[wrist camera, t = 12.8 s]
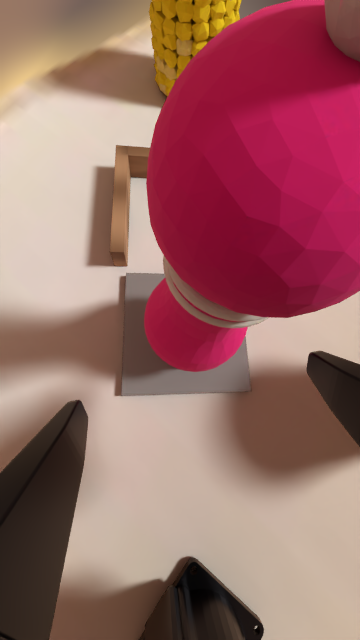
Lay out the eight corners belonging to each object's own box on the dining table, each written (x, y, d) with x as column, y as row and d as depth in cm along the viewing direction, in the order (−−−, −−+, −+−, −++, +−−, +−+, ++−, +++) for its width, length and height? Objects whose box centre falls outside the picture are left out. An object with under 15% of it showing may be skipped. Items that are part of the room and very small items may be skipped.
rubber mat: (248, 391, 20) (251, 391, 20) (122, 395, 19) (121, 395, 19) (236, 277, 23) (239, 275, 23) (126, 275, 22) (126, 273, 22)
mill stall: (247, 269, 24) (257, 256, 21) (114, 265, 22) (109, 251, 20) (236, 175, 27) (243, 155, 25) (119, 167, 26) (116, 145, 23)
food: (198, 135, 30) (141, 98, 32) (252, 69, 31) (193, 37, 32) (199, -76, 15) (88, -127, 17) (303, -196, 16) (188, -235, 17)
